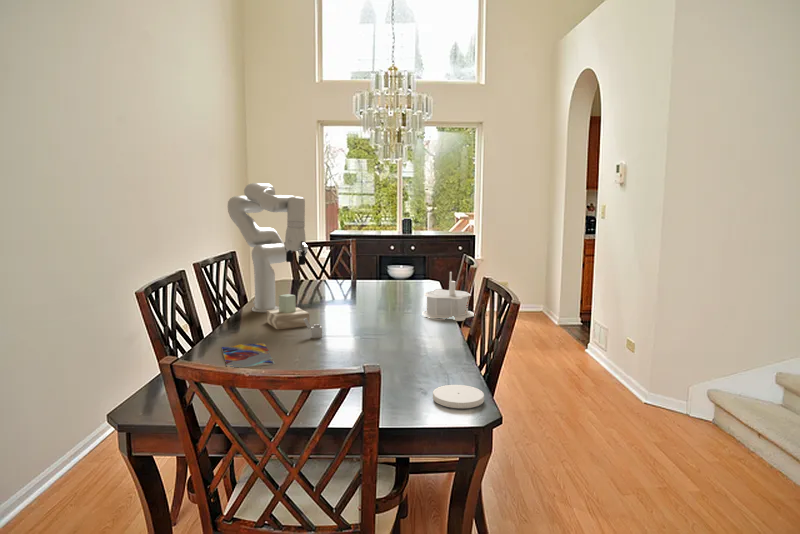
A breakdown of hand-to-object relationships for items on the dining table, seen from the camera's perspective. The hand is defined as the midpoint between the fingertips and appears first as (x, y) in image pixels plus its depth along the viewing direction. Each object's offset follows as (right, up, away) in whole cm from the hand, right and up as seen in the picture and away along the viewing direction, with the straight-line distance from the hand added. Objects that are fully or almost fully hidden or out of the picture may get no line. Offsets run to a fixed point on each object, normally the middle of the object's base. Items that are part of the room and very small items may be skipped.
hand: (295, 263), depth 247 cm
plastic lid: (+63, -39, -93) cm, 119 cm away
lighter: (+12, -30, -29) cm, 43 cm away
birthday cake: (+69, -25, +14) cm, 74 cm away
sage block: (-2, -21, -8) cm, 22 cm away
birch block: (-2, -27, -8) cm, 28 cm away
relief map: (-7, -33, -54) cm, 64 cm away
